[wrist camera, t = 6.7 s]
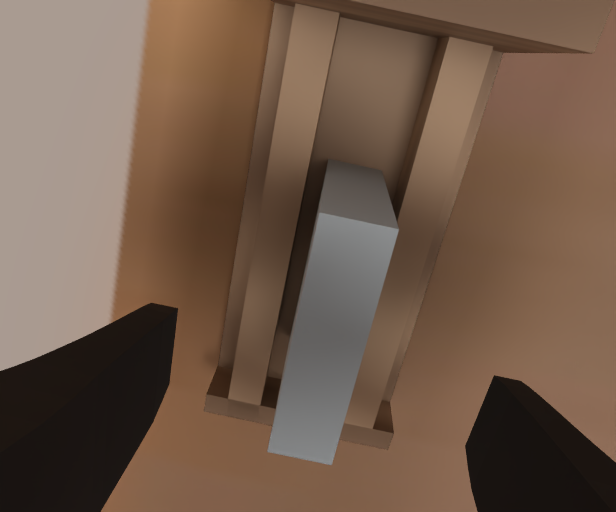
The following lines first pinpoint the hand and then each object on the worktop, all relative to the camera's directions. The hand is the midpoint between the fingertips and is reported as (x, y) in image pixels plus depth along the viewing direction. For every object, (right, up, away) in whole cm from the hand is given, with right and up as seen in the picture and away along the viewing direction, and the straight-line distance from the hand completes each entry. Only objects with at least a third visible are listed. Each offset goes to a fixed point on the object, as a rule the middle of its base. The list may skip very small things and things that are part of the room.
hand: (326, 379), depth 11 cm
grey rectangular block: (0, +3, +7) cm, 7 cm away
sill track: (+1, +5, +7) cm, 8 cm away
